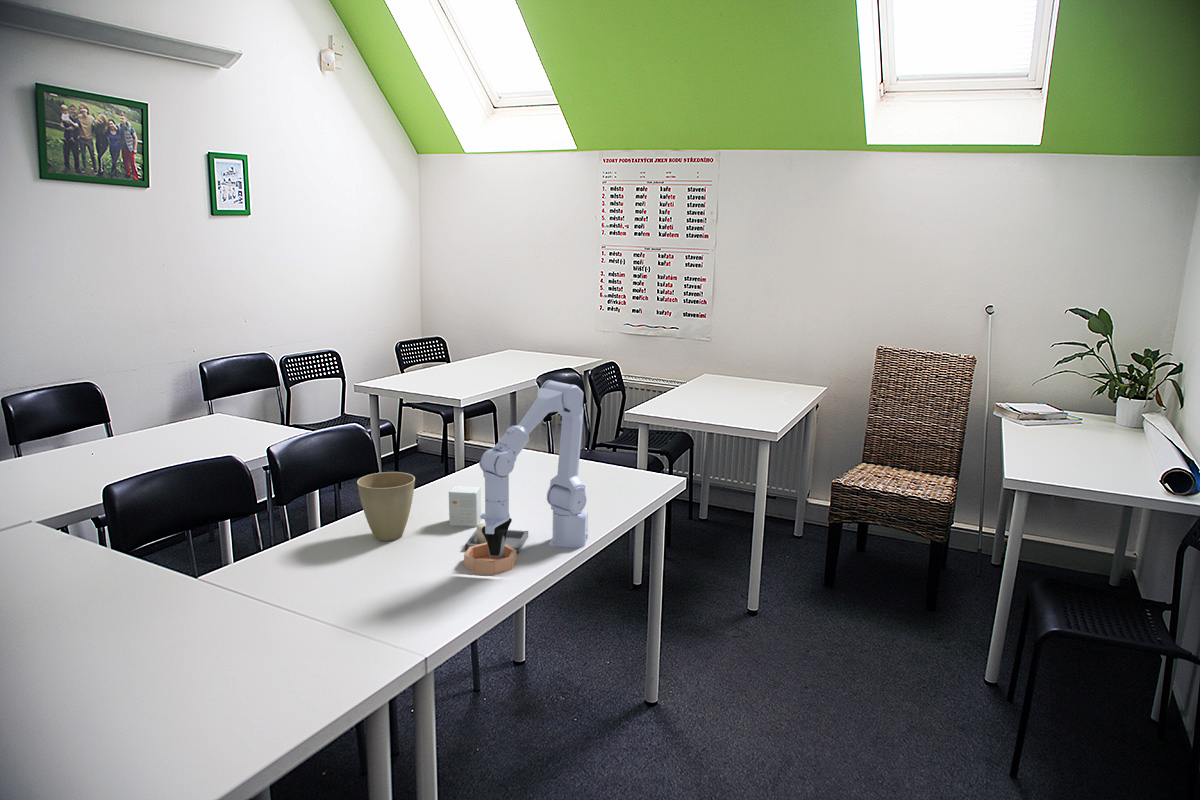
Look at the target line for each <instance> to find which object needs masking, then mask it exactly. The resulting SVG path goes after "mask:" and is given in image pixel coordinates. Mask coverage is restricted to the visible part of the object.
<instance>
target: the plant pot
mask: <svg viewBox="0 0 1200 800" xmlns="http://www.w3.org/2000/svg"><path fill="white" fill-rule="evenodd" d="M415 483H416V477H415V476H414V475H413V474H411V473H406V472H401V471H400V472H399V471H386V472H385V471H384V472H377V473H376V472H374V473H371V474H367V475H364V476H362V477H360V478H359V479H358V480H357V481H356V484H357V489H358V494H359V498H360V503H361V506H362V510H363V513H364V516H365V519H366V522H367V524H368V526H369V528H370V531H371V533H372V535H373V538H374V539H375V540H377V541H380V542H381V541H382V542H390V541H391V542H392V541H395V540H399V539H400V538H402V537H403V535H404V532H405V531H406V530H405V529H406V527H407V523H408V520H409V517H410V512H411V507H412V503H413V498H414V493H415V491H414V490H415Z"/></svg>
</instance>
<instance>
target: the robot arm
mask: <svg viewBox="0 0 1200 800" xmlns="http://www.w3.org/2000/svg"><path fill="white" fill-rule="evenodd" d="M584 394H585V393H584V391H583V390H582V389H581V388H580V387H579V386H578V385H576V384H569V383H565V382H560V381H555V380H553V379H548V380H546V381H544V382H543V384H542V385H541V386H540V388H539V389H538V390H537V395H536V397H537V398H536V399H535V400H534V402H533V403H532V405H531V407H530V408H529V409H528V410H527V411H526V413H525V415H524V416H523V417H522V419H521V420H520V422H519V423H518V425H511V426H510V427H508V428H507V429H506V430H505V433H504V434H503V435H502V437H501V438H499V440H498V441H497V443H496V444H495V445H494V446H493V448H490V449H487V450H486V451H485V452H484V453H483V454H482V455H481V457H480V461H479V467H480V469H481V471H482V473H483V479H484V513H482V514H481V515H480V518H481V519H482V520H484V522H485V524H486V526H483V528H482V533H483V535H484V536H485V538H486V541H487V544H488V548H489V552H490V555H495V556H499V554H500V549H501V542H502V538H503V536H504V537H505V540H506V535H507V531H508V530H509V528H510V525H511V523H512V522H513V521H512V520H513V519H512V518H511V516H510V506H509V505H510V503H509V502H510V497H509V495H510V491H509V490H510V487H509V486H510V485H509V483H510V478H509V477H510V476H509V475H510V474H511V473H512V472H513V470H514V468H515V463H516V461H517V457H518V456H519V454H520V453H521V452H522V451H523V450H524V448H525V447H526V446H527V445H528V443H529V442H530V434H531V432H532V431H533V430H535V428H536V427H537V426H538V425H539V424H540V423H541V422H542V421H543V420H544V419H545V417H546V416H547V415H548V414H549V413H550V414H551V413H558V414H559V415H560V416H561V425H560V426H561V428H560V437H559V453H558V461H557V462H558V465H557V475H555V476H554V477H552V478H551V479H550V482H549V487H548V489H547V492H546V502H547V503H548V504H549V505H550V510H552V536H551V539H550V542H549V543H548V545H549V546H555V547H568V548H569V547H570V548H571V547H572V548H582V549H583V548H585V547H586V544H587V540H588V538H589V513H588V511H583V510H584V509H585V507H586V505H587V494H586V484H585V483H584V482H583V481H582V479H581V478H580V477H579V467H580V456H581V446H582V433H583V423H584V405H583V404H584Z"/></svg>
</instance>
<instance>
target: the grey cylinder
mask: <svg viewBox="0 0 1200 800" xmlns="http://www.w3.org/2000/svg"><path fill="white" fill-rule="evenodd" d="M504 555H505V537H504V536H503V538H502V542H501V549H500V554H499V556H495V555H490V552H489V548H488V556H489V557H491V558H501V557H503V556H504Z"/></svg>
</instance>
